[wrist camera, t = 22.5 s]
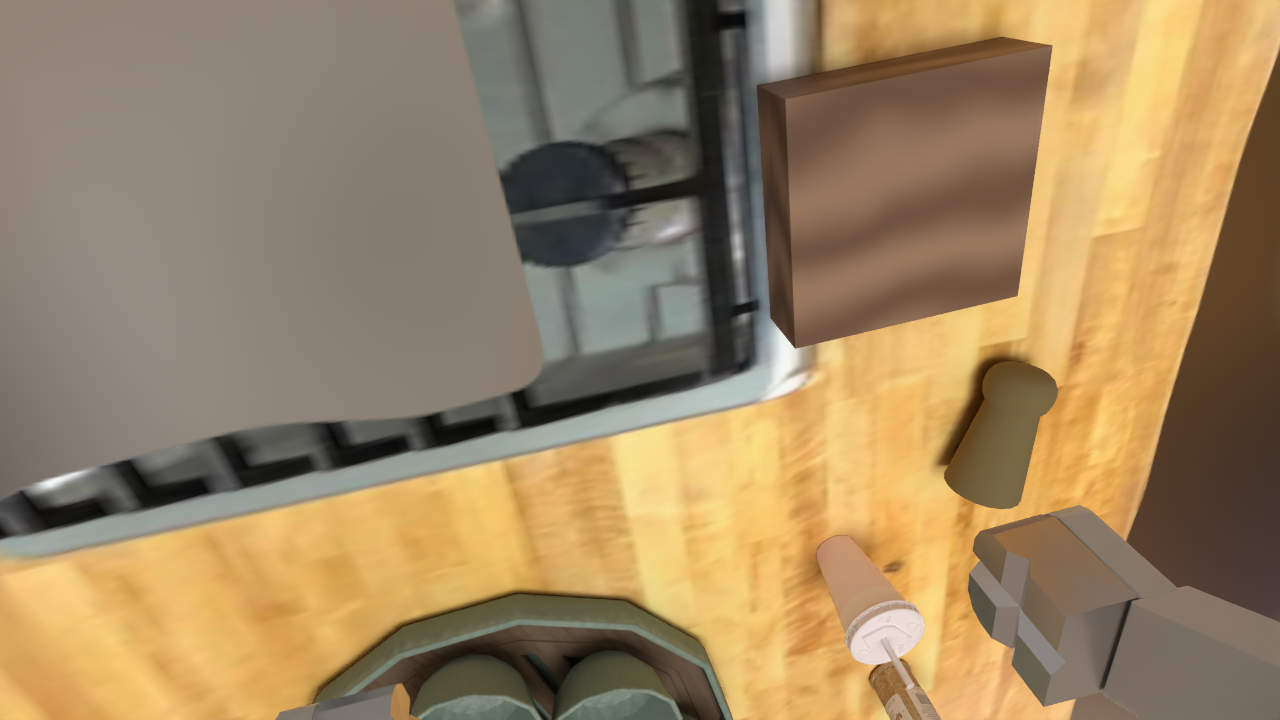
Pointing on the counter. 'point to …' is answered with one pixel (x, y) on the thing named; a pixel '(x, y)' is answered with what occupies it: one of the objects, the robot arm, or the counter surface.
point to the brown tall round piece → (1002, 435)
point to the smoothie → (869, 606)
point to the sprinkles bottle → (901, 694)
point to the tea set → (543, 664)
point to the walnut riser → (899, 186)
